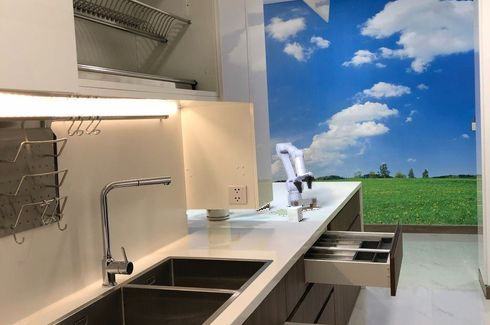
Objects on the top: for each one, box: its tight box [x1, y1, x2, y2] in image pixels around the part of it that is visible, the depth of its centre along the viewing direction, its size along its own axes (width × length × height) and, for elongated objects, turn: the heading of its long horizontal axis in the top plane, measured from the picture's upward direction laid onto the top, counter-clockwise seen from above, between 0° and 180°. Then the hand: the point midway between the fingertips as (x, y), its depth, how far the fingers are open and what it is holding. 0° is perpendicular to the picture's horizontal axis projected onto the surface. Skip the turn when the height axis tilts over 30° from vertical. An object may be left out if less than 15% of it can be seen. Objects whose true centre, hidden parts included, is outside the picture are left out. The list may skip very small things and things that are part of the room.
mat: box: [270, 208, 288, 217], centre depth 294 cm, size 20×9×1 cm, turn 22°
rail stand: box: [292, 199, 320, 211], centre depth 298 cm, size 8×15×6 cm, turn 112°
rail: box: [291, 196, 318, 206], centre depth 298 cm, size 16×3×3 cm, turn 112°
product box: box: [286, 207, 304, 223], centre depth 266 cm, size 6×6×7 cm
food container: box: [255, 202, 271, 211], centre depth 310 cm, size 12×6×10 cm, turn 130°
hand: (305, 190), depth 296 cm, fingers open, 7 cm apart
